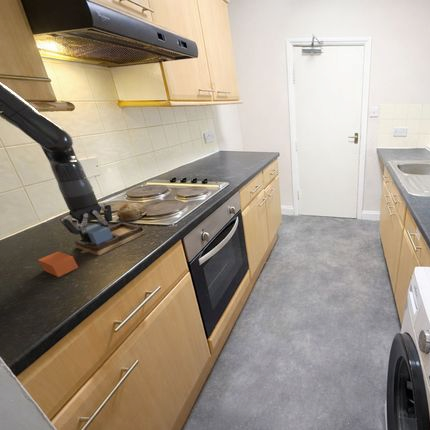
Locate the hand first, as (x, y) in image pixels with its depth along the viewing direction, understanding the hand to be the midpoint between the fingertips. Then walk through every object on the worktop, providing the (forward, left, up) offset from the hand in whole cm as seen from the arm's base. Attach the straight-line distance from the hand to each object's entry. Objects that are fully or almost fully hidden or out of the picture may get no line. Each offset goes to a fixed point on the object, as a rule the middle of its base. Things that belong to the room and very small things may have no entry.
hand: (97, 238), depth 92 cm
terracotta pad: (-13, -4, -3) cm, 14 cm away
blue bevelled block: (0, 0, 0) cm, 0 cm away
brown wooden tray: (+4, 0, -3) cm, 5 cm away
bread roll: (+20, +13, -3) cm, 24 cm away
